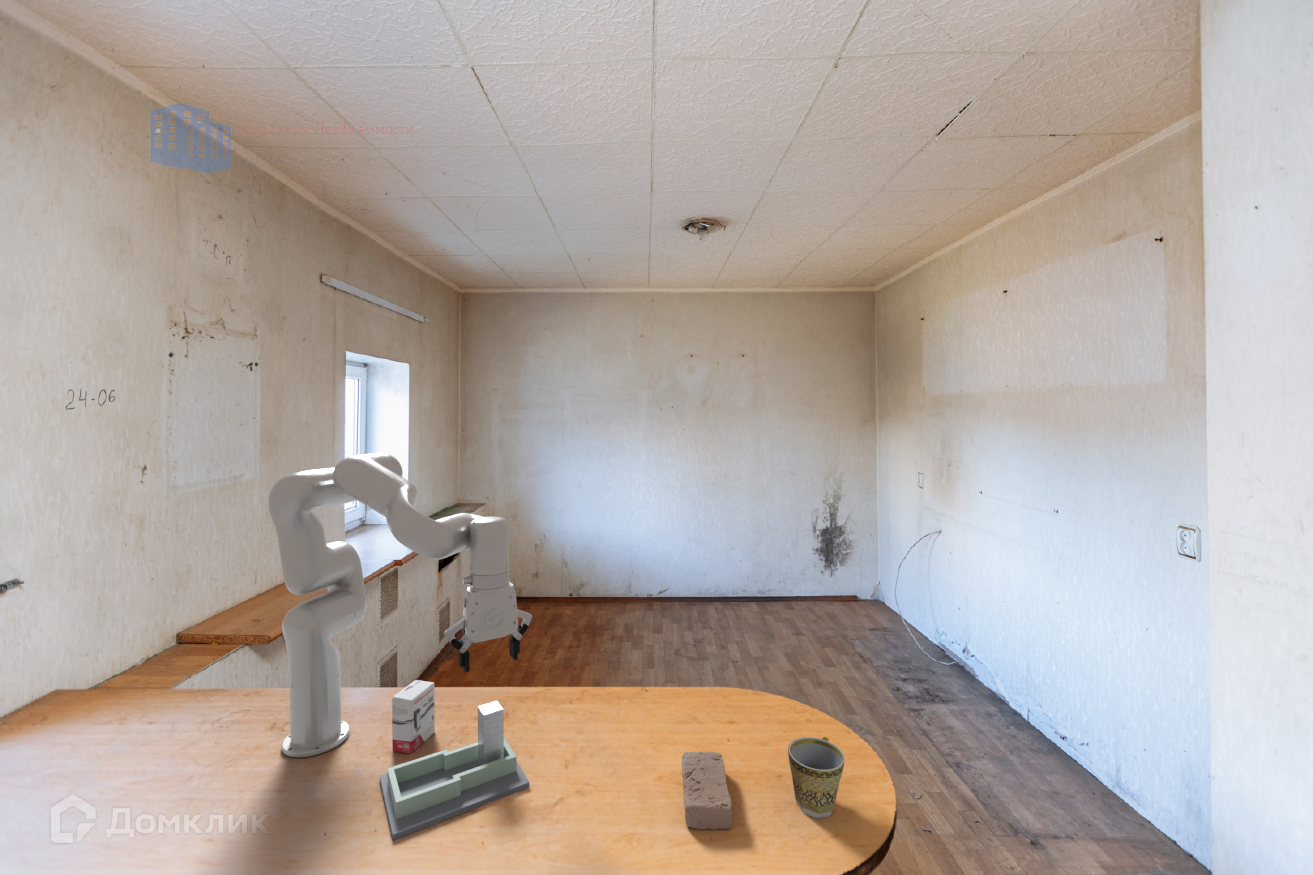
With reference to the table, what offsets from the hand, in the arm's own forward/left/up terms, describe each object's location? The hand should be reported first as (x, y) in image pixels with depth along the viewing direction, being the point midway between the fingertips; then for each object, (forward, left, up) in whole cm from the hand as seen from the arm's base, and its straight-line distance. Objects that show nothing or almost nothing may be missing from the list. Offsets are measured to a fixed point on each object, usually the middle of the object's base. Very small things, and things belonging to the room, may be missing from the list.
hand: (490, 663), depth 109 cm
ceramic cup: (+42, +49, -22) cm, 68 cm away
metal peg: (0, 0, -21) cm, 21 cm away
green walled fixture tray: (0, -7, -22) cm, 23 cm away
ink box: (-19, -11, -22) cm, 31 cm away
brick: (+30, +32, -23) cm, 49 cm away
